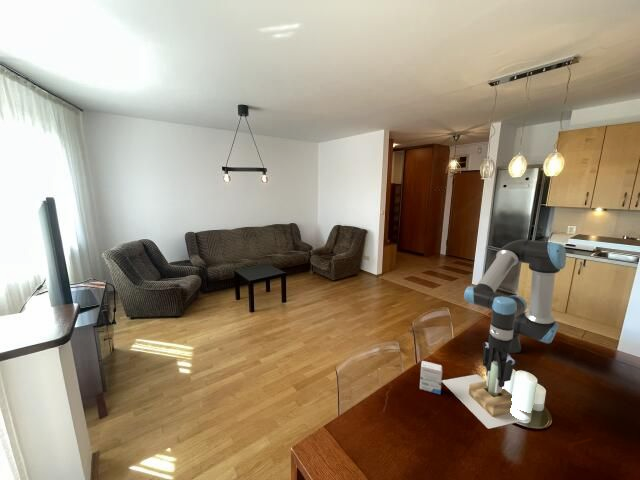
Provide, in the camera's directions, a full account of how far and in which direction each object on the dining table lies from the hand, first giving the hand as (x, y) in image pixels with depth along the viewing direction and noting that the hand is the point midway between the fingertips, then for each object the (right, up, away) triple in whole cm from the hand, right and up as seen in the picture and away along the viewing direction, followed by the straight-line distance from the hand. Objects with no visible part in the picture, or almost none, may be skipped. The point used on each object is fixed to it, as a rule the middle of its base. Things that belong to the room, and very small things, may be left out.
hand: (493, 388), depth 107 cm
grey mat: (-3, -7, +4) cm, 8 cm away
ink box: (-22, -6, +9) cm, 25 cm away
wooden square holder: (0, -6, +1) cm, 7 cm away
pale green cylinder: (0, -5, +1) cm, 5 cm away
